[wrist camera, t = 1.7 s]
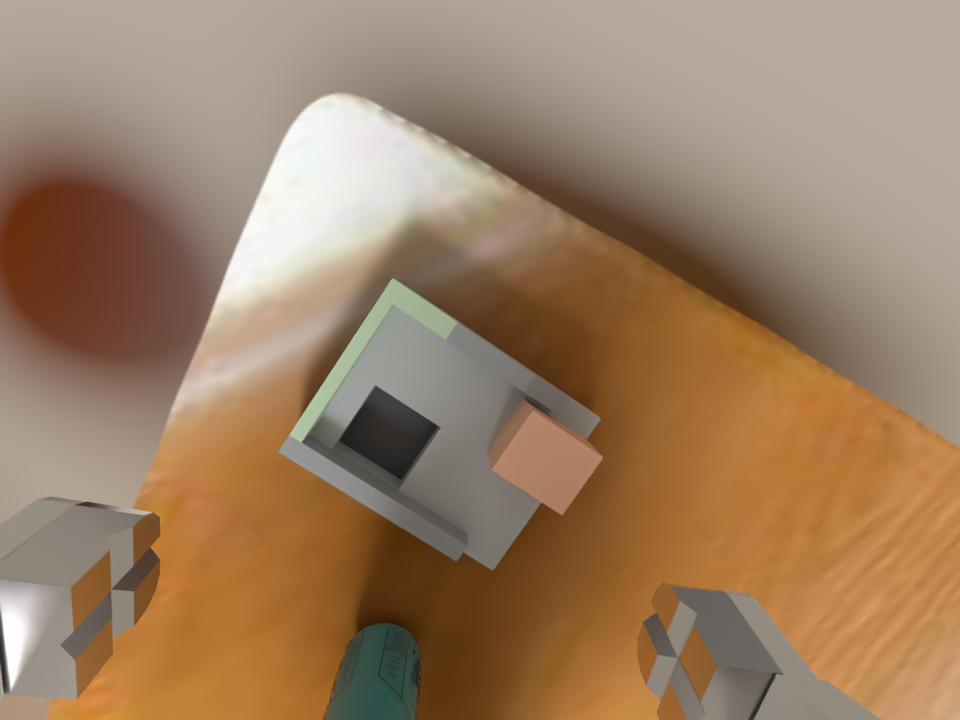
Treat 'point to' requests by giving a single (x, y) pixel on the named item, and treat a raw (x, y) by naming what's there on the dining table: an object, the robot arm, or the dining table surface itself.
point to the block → (543, 456)
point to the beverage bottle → (377, 676)
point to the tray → (426, 426)
